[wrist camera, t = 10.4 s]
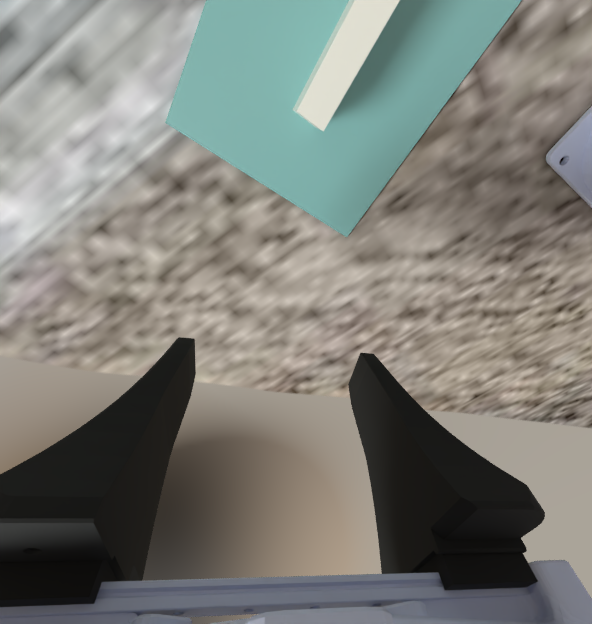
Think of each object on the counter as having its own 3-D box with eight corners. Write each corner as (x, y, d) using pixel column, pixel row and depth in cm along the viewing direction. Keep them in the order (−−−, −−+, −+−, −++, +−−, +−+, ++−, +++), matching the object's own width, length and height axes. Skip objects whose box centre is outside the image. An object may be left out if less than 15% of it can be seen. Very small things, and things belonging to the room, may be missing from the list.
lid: (526, -17, 14) (611, -58, 10) (344, 232, 20) (359, 260, 17) (315, -305, 10) (337, -530, 6) (169, 122, 16) (140, 127, 13)
